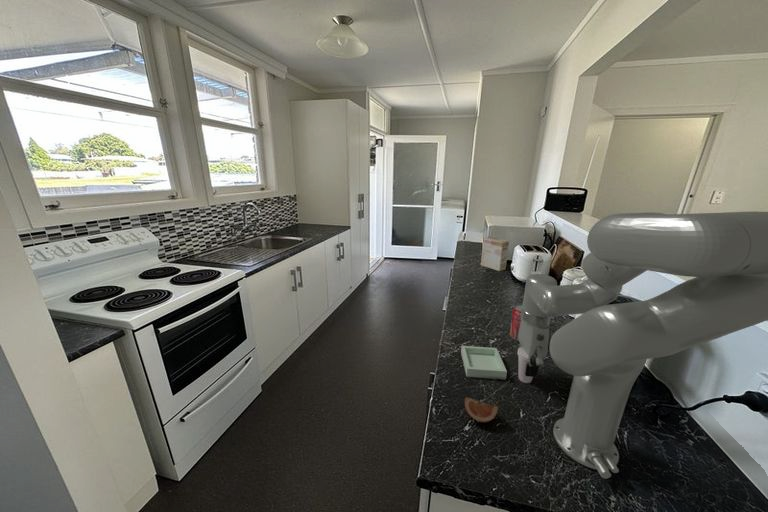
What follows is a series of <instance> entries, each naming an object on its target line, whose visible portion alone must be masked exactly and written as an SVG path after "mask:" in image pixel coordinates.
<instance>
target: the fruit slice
mask: <svg viewBox="0 0 768 512" xmlns="http://www.w3.org/2000/svg"><path fill="white" fill-rule="evenodd" d="M463 403H464V409H465V411H466V413H467V414H468V416H469V417H471V418H472V419H473V420H474V421H477V422H479V423H487V422H490V421H492V420H493V419H495V418H496V416H497V414H498V411H499V406H496V405H493V404H490V403H487V402H483V401H479V400H478V399H477V400H476V399H474V398H472V397H467V396H465V398H464V401H463Z"/></svg>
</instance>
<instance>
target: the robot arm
mask: <svg viewBox="0 0 768 512" xmlns="http://www.w3.org/2000/svg"><path fill="white" fill-rule="evenodd" d="M586 243H587V248H588V250H589V253H588V254H587V255H585V256H584V258H583V260H582V262H581V267H582V270H583V272H584V274H585V276H586V277H587V279H586V280H584V281H582V282H581V283H577V284H576V283H575V284H562V285H561V284H560V285H558V282H557V279H555V278H554V277H552V276H550V275H547V274H542V273H533V274H530V275H528V277H526V282H525V287H524V293H523V301H522V304H521V305H522V312H521V323H520V328H519V334H518V339H519V345H518V349H519V348H520V347H523V349H524V351H525V352H526V354H527V355H528V364H527V366H526V371H525V375H526V376H530V377H533V378H537V377H538V372H539V368H540V367H541V366H543V365H544V360H543V359H546V358H547V357H548V356H547V355H548V349H549V353H550V357H551V359H552V361H553V362H554V364H555V365H556V366H557V368H559V369H560V370H561V371H562V372H564V373H566V374H569V375H571V376H573V379H572V382H571V386H570V391H569V396H568V398H567V404H566V408H565V412H564V416H563V417H562V418H559V419H558V420H556V422H554V425H553V432H552V434H553V437H554V440H555V441H556V443H557V444H558V446H559V447H560V449H562V451H563V452H564V453H566V455H568V456H569V457H570V458H571V459H573V460H574V461H576V463H579V464H581V465H582V466H585V467H587V468H590V469H592V470H596V471H597V472H598V473H599V475H600V478H602V479H609V478H611V477H612V474H611V472H612V473H613V474H617V473H619V472H620V470H619V468H618V466H617V465H618V463H619V461H620V460H619V459H620V454H619V450H618V448H617V446H616V445H615V440H616V437H617V434H618V431H619V426H620V424H621V422H622V421H621V420H622V417H623V416H624V415H623V414H624V412H625V408H626V404H627V402H628V399H629V397H630V396H629V395H630V393H631V390H632V387H633V386H634V383H635V382H636V381H637V378H638V376H640V374H641V372H642V371H643V369H644V367H645V365H646V364H647V360H651V359H656V358H657V359H658V358H664V357H668V356H672V355H674V354H677V353H680V352H682V351H684V350H688V349H690V348H692V347H695V346H698V345H701V344H704V343H707V342H711V341H714V340H717V339H720V338H722V337H724V336H727V335H729V334H732V333H735V332H738V331H741V330H744V329H746V328H750V327H753V326H755V325H758V324H760V323H764V322H766V321H768V211H756V210H755V211H733V212H732V211H731V212H728V211H727V212H703V213H701V212H699V213H697V212H696V213H673V214H672V213H671V214H669V213H667V214H666V213H661V212H629V213H628V212H626V213H614V214H610V215H608V216H607V215H606V216H605V217H603V218H601V219H599V220H598V221H597V222H596V223H594V225H593V226H592V227H591V228H590V229H589V232H588V235H587V239H586ZM647 271H648V272H656V273H661V274H666V275H673V276H680V277H689V278H690V277H691V279H688V280H686V281H683V282H681V283H680V284H679V283H678V284H677V285H676V286H675V285H674V287H672V288H670V289H669V290H666V291H665V292H663V293H660V294H658V295H656V296H654V297H652V298H649V299H647V300H640V301H631V302H623V303H613V304H612V302H614V301H615V300H617V298H618V297H619V295H620V294H621V292H622V290H623V286H624V285H626V284H627V283H629V282H631V281H632V280H634V279H635V278H637V277H639V276H641V275H642V274H644V273H646V272H647ZM610 303H611V304H610ZM572 315H579V316H577V317H576V318H574V319H573V320H571V321H569V322H567V323H566V324H564V325H563V326H561V327H559V328H558V329H557V330H555V332H554V333H553V334H552V336H551V337H550V329H549V326H550V323H551V319H552V317H561V316H572ZM548 347H549V348H548ZM534 353H535V354H536V355H533V354H534ZM518 357H519V355H518V354H517V359H516V361H518ZM532 358H536V361H533V362H532ZM610 471H611V472H610Z"/></svg>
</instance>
